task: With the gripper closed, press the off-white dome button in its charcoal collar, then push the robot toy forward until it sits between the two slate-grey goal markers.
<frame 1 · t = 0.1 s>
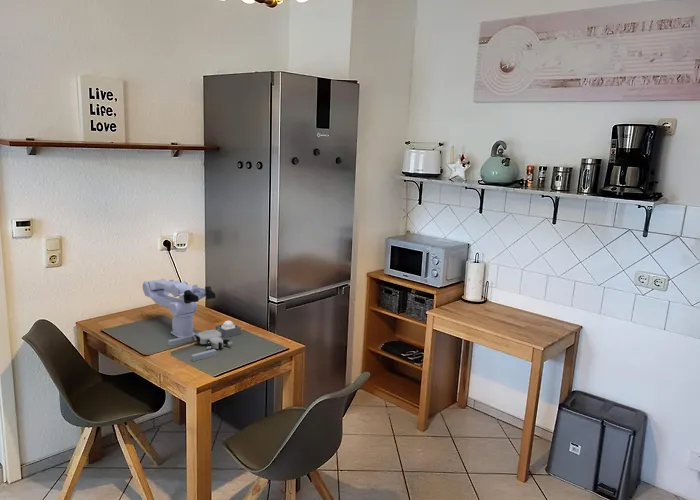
hand: (206, 297, 219), 22 cm above the table, tool horizontal, fingers open, 7 cm apart
dome button: (228, 325, 240), point 4 cm above the table, slide at 0.0 cm
robot toy: (212, 345, 227), on the table
goal markers: (191, 349, 220), on the table
dome collar: (228, 333, 241), on the table
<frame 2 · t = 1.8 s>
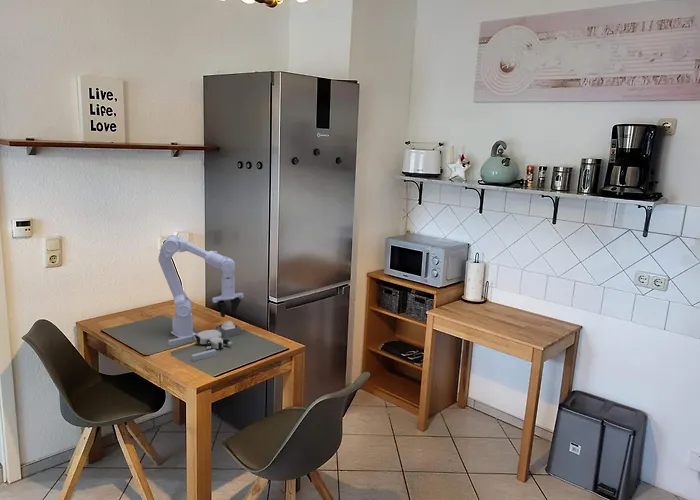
hand: (228, 315, 239), 8 cm above the table, tool pointing down, fingers open, 5 cm apart
nothing on the table moved.
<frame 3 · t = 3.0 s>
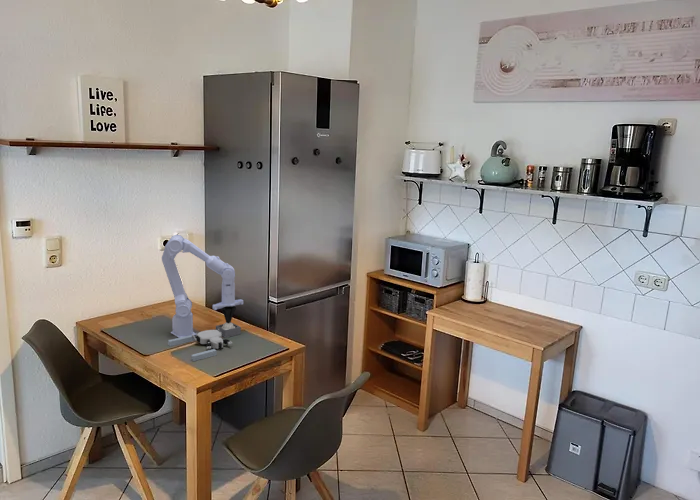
hand: (228, 322, 240), 5 cm above the table, tool pointing down, fingers closed, pressing on dome button
dome button: (228, 327, 240), point 3 cm above the table, slide at 0.6 cm, touching gripper
everything else where it was.
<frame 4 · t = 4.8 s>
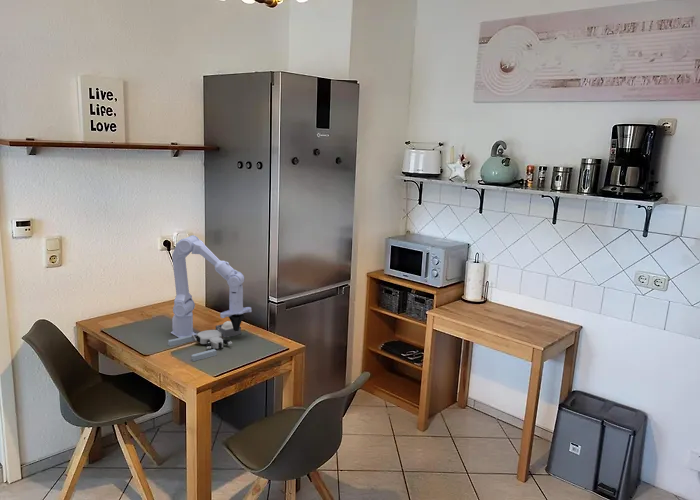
hand: (236, 330, 234), 4 cm above the table, tool pointing down, fingers closed
dome button: (228, 326, 240), point 3 cm above the table, slide at 0.2 cm
everything else where it was.
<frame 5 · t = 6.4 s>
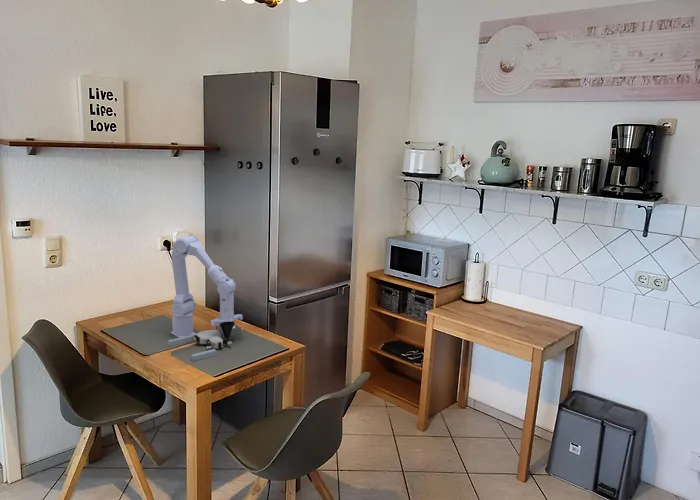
hand: (226, 338, 231), 1 cm above the table, tool pointing down, fingers closed
robot toy: (212, 345, 227), on the table, touching gripper
everything else where it was.
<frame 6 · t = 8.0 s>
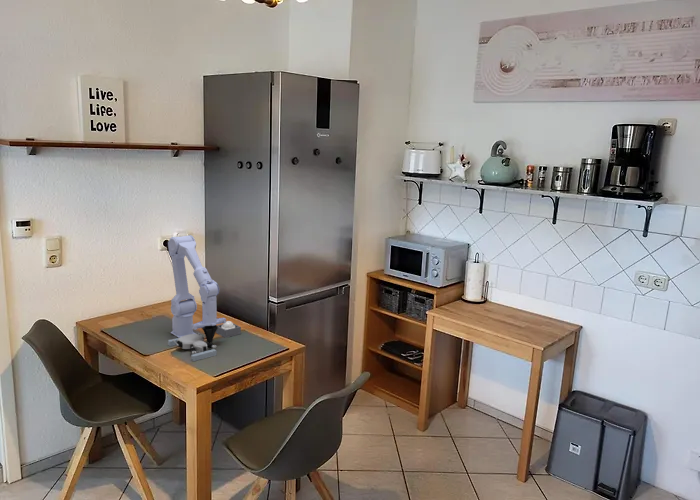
hand: (209, 342, 225), 1 cm above the table, tool pointing down, fingers closed
robot toy: (195, 350, 221), on the table, touching gripper
everything else where it was.
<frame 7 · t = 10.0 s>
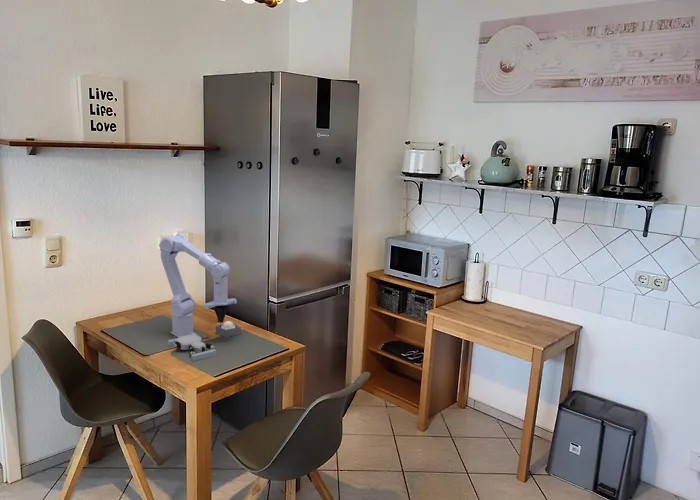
hand: (220, 322, 230), 9 cm above the table, tool pointing down, fingers closed
robot toy: (193, 350, 220), on the table
everything else where it was.
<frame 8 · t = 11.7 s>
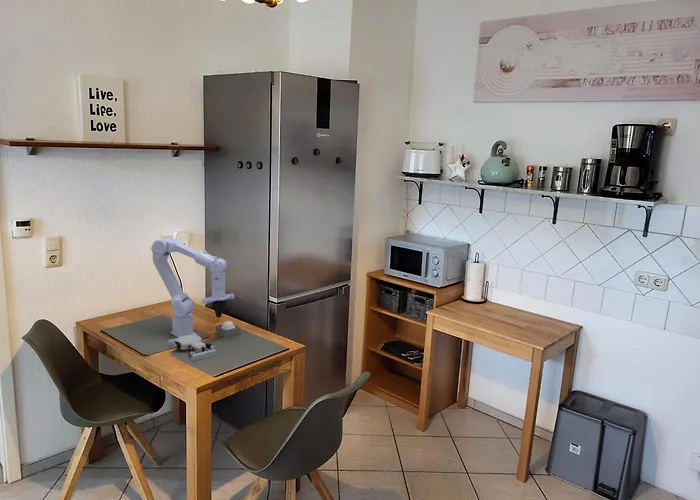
hand: (218, 317, 233), 9 cm above the table, tool pointing down, fingers closed
nothing on the table moved.
at the end: robot toy 0.4 cm from the target spot, on the table; robot toy tilted 0°; the gripper is holding nothing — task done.
